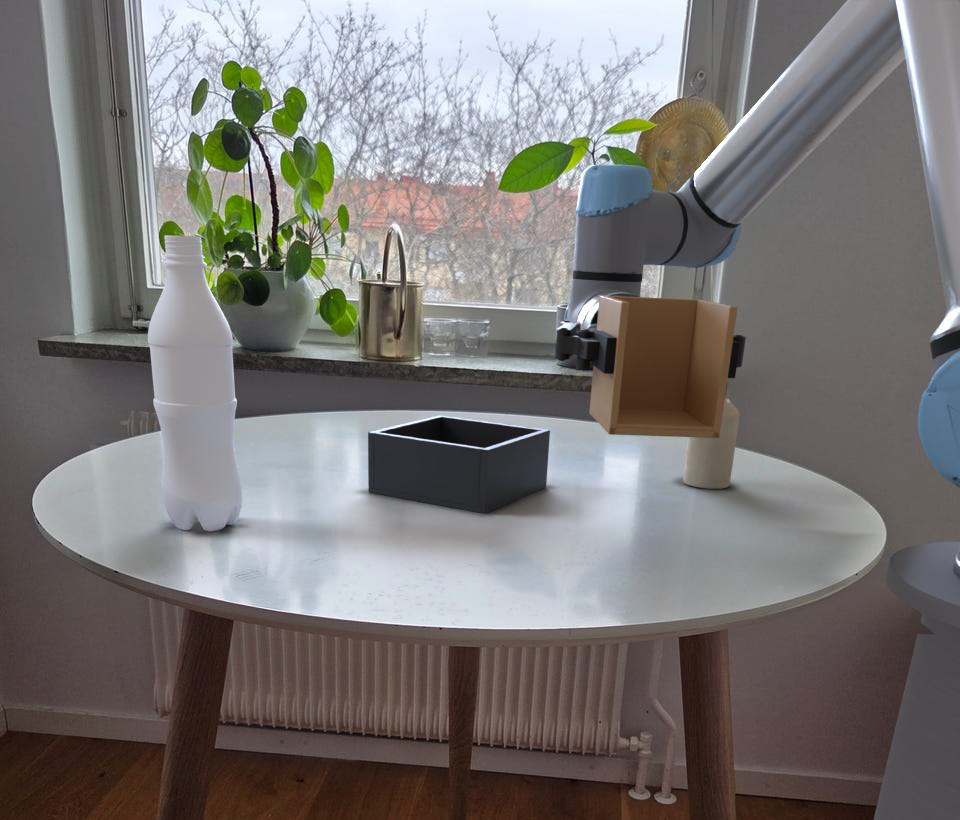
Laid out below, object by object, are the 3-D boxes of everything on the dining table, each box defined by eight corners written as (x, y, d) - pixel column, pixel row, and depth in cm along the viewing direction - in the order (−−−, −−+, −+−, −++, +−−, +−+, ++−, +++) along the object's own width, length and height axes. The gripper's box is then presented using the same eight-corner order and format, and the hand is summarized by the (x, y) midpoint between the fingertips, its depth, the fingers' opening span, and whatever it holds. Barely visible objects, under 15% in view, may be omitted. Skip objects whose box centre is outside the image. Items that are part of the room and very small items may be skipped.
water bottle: (166, 515, 90) (140, 234, 81) (242, 513, 92) (226, 237, 82) (163, 536, 84) (134, 234, 74) (245, 533, 86) (228, 237, 76)
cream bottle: (712, 477, 115) (723, 394, 112) (738, 487, 111) (751, 401, 107) (673, 479, 114) (684, 395, 110) (699, 490, 109) (711, 402, 105)
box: (589, 413, 84) (599, 295, 80) (687, 417, 84) (702, 299, 81) (608, 434, 75) (621, 302, 71) (719, 438, 75) (737, 306, 71)
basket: (546, 487, 107) (550, 430, 105) (485, 513, 96) (487, 450, 93) (438, 469, 114) (439, 415, 111) (368, 492, 102) (367, 432, 99)
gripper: (719, 375, 96) (799, 411, 75) (509, 367, 95) (530, 402, 74) (730, 297, 93) (816, 313, 72) (513, 288, 92) (537, 301, 71)
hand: (672, 358), depth 73 cm, fingers closed on box, 9 cm apart
